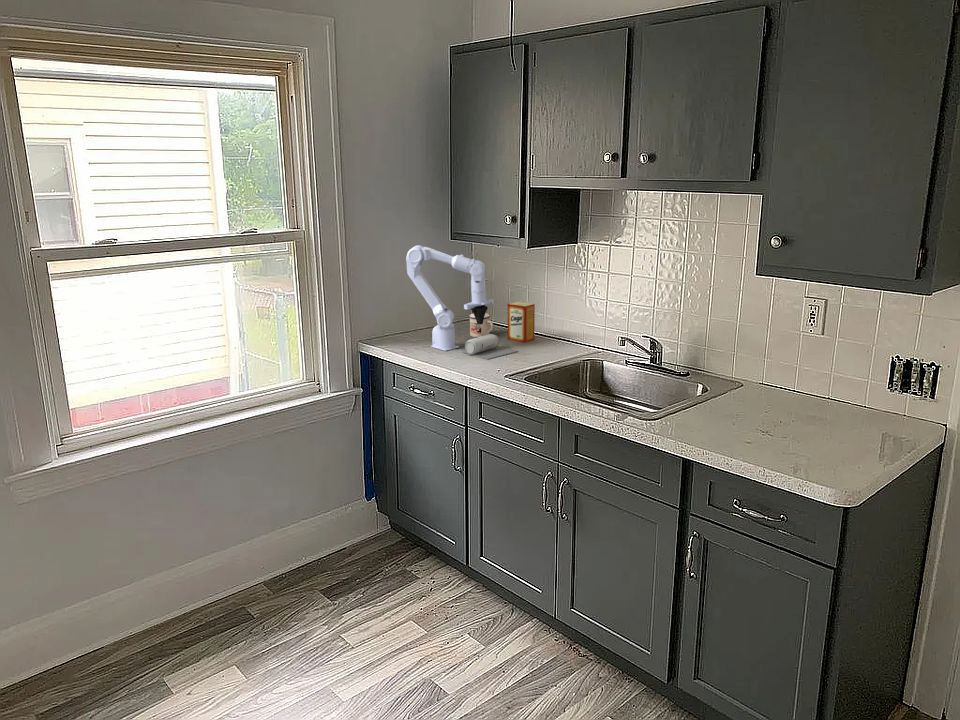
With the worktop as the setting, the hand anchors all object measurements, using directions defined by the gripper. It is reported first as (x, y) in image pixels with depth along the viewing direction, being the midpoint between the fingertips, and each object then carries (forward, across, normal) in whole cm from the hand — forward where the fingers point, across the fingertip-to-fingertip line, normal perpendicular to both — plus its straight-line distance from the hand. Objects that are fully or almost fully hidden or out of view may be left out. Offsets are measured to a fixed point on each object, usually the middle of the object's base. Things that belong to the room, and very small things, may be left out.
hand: (479, 323), depth 304 cm
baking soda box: (+11, +22, -1) cm, 25 cm away
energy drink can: (+7, -11, -6) cm, 14 cm away
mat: (+10, -2, -8) cm, 13 cm away
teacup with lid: (+10, +15, +16) cm, 24 cm away
